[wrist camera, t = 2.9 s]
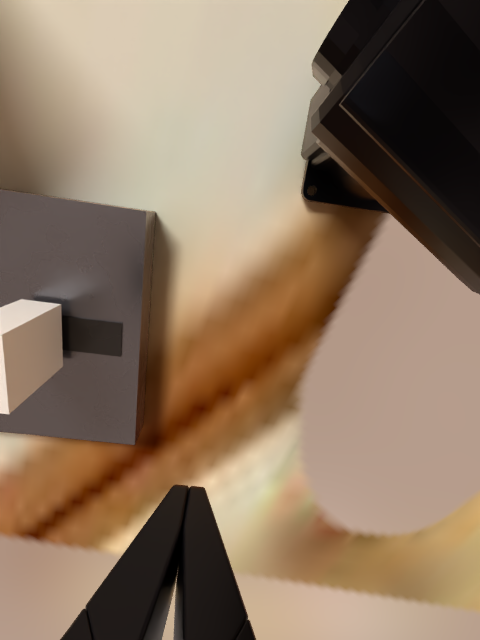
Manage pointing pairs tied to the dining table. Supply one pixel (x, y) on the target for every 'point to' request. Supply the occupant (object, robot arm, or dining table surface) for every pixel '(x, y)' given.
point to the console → (82, 311)
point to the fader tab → (28, 349)
